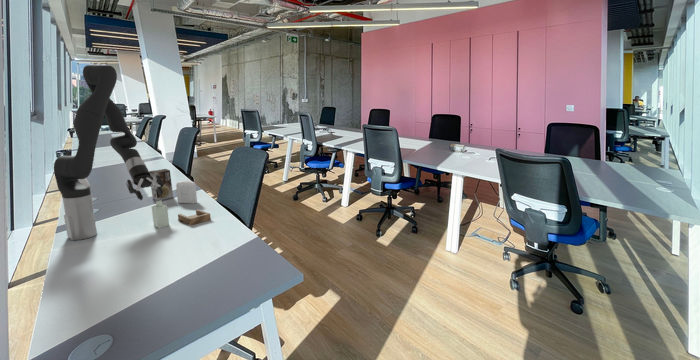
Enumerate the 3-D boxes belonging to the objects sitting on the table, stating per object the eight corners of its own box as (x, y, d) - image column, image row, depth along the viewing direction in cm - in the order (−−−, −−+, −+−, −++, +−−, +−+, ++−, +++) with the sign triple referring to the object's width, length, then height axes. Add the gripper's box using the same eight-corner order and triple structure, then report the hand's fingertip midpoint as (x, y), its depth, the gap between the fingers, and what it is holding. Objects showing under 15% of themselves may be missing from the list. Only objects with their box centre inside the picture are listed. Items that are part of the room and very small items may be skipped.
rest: (190, 225, 162) (189, 219, 161) (178, 220, 168) (177, 214, 167) (210, 219, 169) (210, 213, 169) (198, 215, 176) (198, 209, 175)
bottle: (158, 228, 158) (155, 200, 156) (153, 225, 161) (150, 198, 158) (169, 225, 162) (166, 198, 159) (164, 223, 165) (161, 196, 162)
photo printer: (198, 202, 198) (196, 180, 196) (194, 204, 194) (192, 181, 192) (181, 201, 200) (179, 179, 197) (176, 203, 196) (174, 181, 193)
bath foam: (76, 210, 182) (69, 171, 178) (77, 207, 188) (71, 169, 184) (93, 208, 186) (87, 170, 182) (93, 205, 192) (87, 168, 188)
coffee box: (168, 195, 211) (165, 168, 208) (173, 197, 208) (170, 169, 204) (152, 198, 205) (148, 170, 201) (157, 200, 201) (153, 172, 197)
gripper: (122, 166, 159) (136, 195, 155) (155, 161, 170) (169, 189, 166) (119, 176, 164) (133, 205, 160) (151, 171, 175) (165, 198, 170)
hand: (151, 197), depth 163 cm, fingers open, 8 cm apart
